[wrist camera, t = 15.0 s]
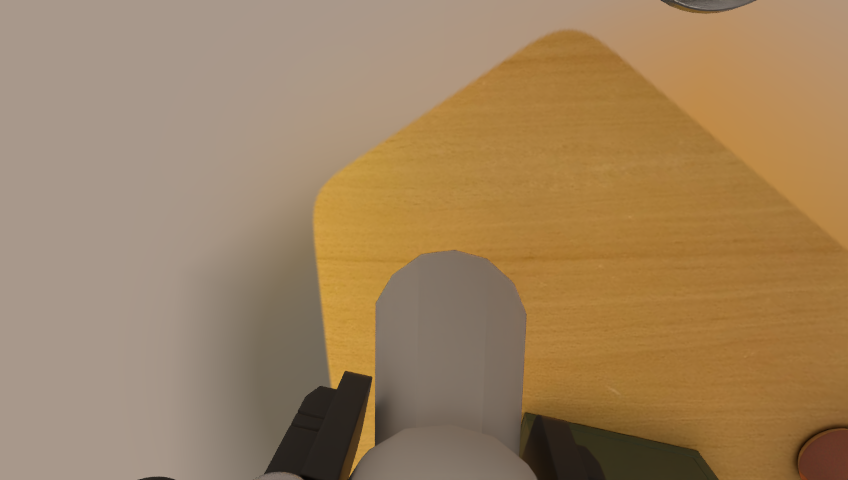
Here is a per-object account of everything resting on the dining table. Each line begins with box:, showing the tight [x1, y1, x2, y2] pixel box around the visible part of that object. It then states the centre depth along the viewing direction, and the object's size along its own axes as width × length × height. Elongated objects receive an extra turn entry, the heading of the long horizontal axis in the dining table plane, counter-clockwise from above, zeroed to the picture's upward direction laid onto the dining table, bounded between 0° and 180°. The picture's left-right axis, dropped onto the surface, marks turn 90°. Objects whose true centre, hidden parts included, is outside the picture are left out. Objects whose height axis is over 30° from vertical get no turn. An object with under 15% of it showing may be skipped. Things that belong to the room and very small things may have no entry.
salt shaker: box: [348, 250, 537, 480], centre depth 14 cm, size 6×6×13 cm
